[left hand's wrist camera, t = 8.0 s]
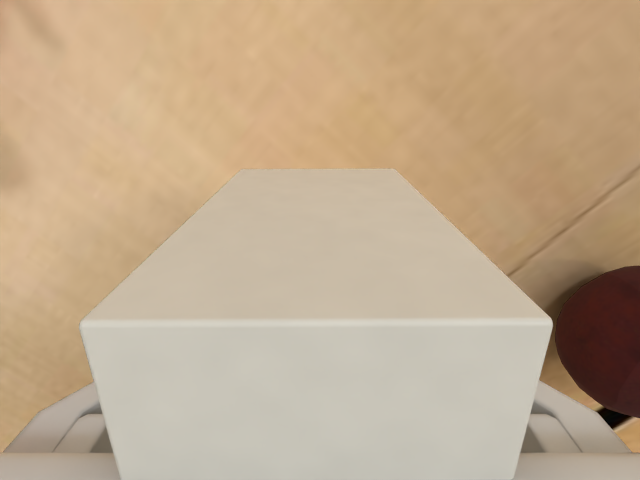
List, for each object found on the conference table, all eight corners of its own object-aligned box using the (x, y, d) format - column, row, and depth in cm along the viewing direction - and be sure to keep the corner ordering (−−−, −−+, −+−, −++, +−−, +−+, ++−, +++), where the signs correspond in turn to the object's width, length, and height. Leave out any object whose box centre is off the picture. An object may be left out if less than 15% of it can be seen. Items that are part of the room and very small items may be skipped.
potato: (510, 344, 24) (584, 439, 17) (568, 232, 21) (680, 294, 14) (615, 366, 24) (724, 466, 18) (684, 260, 22) (842, 332, 15)
